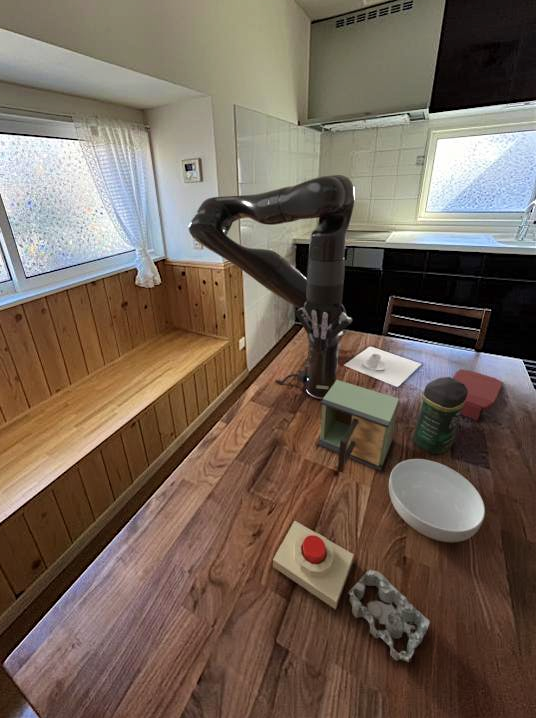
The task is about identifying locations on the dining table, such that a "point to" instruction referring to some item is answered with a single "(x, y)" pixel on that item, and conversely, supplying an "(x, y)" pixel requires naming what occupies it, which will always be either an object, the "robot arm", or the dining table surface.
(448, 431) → the coffee jar
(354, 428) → the door
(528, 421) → the dining table surface
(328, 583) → the switch box
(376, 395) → the cupboard
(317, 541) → the button
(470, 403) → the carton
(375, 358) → the teacup and saucer
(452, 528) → the cereal bowl
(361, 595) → the egg carton
